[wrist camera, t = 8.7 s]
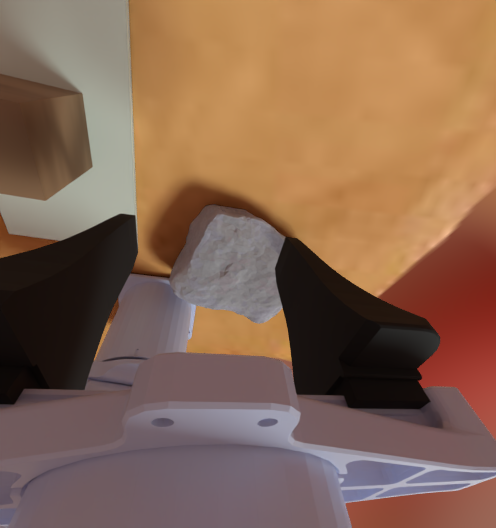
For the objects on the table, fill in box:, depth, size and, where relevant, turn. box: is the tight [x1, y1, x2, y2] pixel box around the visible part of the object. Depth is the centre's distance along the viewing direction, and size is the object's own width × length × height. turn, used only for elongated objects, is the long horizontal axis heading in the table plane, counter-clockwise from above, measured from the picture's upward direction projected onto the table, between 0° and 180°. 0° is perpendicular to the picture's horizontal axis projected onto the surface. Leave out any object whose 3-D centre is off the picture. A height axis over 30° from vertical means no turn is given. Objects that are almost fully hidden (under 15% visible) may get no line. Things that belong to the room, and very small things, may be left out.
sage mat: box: [0, 0, 138, 245], centre depth 17 cm, size 18×10×1 cm, turn 167°
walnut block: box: [0, 74, 93, 201], centre depth 14 cm, size 4×4×6 cm
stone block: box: [169, 204, 285, 323], centre depth 24 cm, size 12×5×10 cm
